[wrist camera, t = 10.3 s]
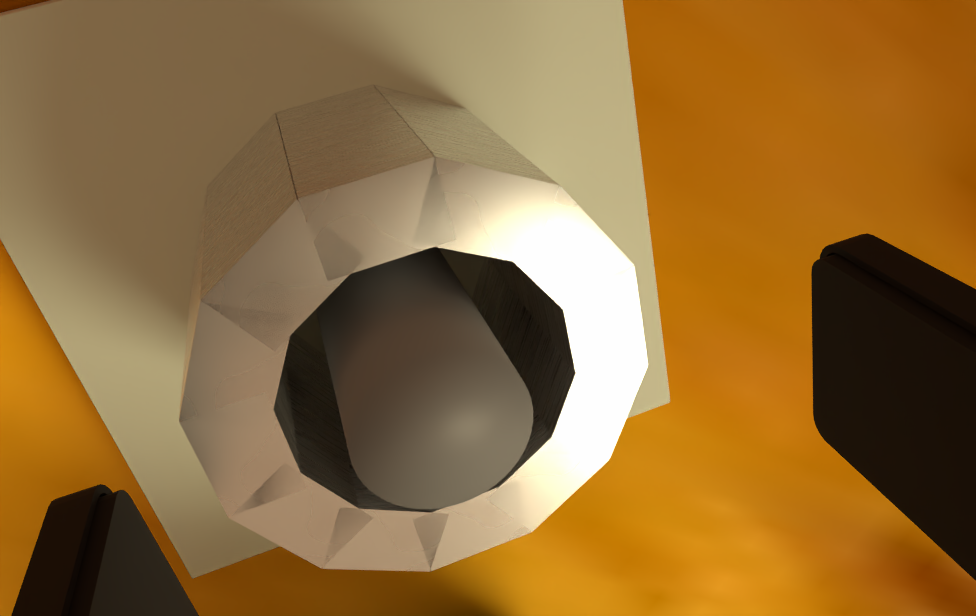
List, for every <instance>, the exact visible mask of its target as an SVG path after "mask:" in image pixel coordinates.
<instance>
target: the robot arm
mask: <svg viewBox="0 0 976 616" xmlns="http://www.w3.org/2000/svg"><path fill="white" fill-rule="evenodd" d="M812 347H813V415H814V421H815V424H816V427H817V429H818V431H819V433H820V434H821V436H822V437H823V439H824V440H825V441H826V442H827V443H828V444H829V445H830V446H831V447H833V448H834V449H835V450H836V451H837V452H838V453H839V454H840V455H841V456H842V457H843V458H844V459H845V460H847V461H848V462H849V463H850V464H851V465H852V466H853V467H854V468H855V469H856V470H857V471H858V472H859V473H861V474H862V475H863V476H864V477H865V478H866V479H867V480H868V481H869V482H870V483H871V484H872V485H873V486H875V487H876V488H877V489H878V490H879V491H880V492H881V493H882V494H883V495H884V496H885V497H886V498H887V499H889V500H890V501H891V502H892V503H893V504H894V505H895V506H896V507H897V508H898V509H899V510H900V511H901V512H903V513H904V514H905V515H906V516H907V517H908V518H909V519H910V520H911V521H912V522H913V523H914V524H915V525H917V526H918V527H919V528H920V529H921V530H922V531H923V532H924V533H925V534H926V535H927V536H928V537H929V538H931V539H932V540H933V541H934V542H935V543H936V544H937V545H938V546H939V547H940V548H941V549H942V550H943V551H945V552H946V553H947V554H948V555H949V556H950V557H951V558H952V559H953V560H954V561H955V562H956V563H957V564H959V565H960V566H961V567H962V568H963V569H964V570H965V571H966V572H967V573H968V574H969V575H970V576H971V577H973V578H974V579H975V580H976V289H974V288H972V287H971V286H969V285H967V284H965V283H963V282H961V281H959V280H957V279H955V278H953V277H951V276H950V275H948V274H946V273H944V272H942V271H940V270H938V269H936V268H934V267H932V266H931V265H929V264H927V263H925V262H923V261H921V260H919V259H917V258H915V257H913V256H912V255H910V254H908V253H906V252H904V251H902V250H900V249H898V248H896V247H894V246H893V245H891V244H889V243H887V242H885V241H883V240H881V239H879V238H877V237H875V236H873V235H870V234H861V235H858V236H855V237H852V238H849V239H846V240H843V241H840V242H837V243H834V244H831V245H828V246H826V247H825V248H824V249H823V250H822V252H821V255H820V259H819V260H817V261H815V262H814V264H813V266H812ZM12 616H199V615H198V613H197V612H196V610H195V608H194V606H193V605H192V603H191V601H190V599H189V598H188V596H187V594H186V593H185V591H184V589H183V587H182V586H181V584H180V582H179V580H178V579H177V577H176V575H175V573H174V572H173V570H172V568H171V566H170V565H169V563H168V561H167V560H166V558H165V556H164V554H163V553H162V551H161V549H160V547H159V546H158V544H157V542H156V540H155V539H154V537H153V535H152V533H151V532H150V530H149V528H148V527H147V525H146V523H145V521H144V520H143V518H142V516H141V514H140V513H139V511H138V509H137V507H136V506H135V504H134V502H133V500H132V499H131V497H130V496H129V494H128V493H127V492H125V491H124V490H120V491H117V492H114V493H112V491H111V490H110V489H109V488H108V487H107V486H105V485H101V484H100V485H97V486H94V487H91V488H88V489H85V490H82V491H79V492H76V493H73V494H70V495H67V496H64V497H60V498H57V499H55V500H53V501H52V502H51V504H50V505H49V507H48V510H47V513H46V516H45V519H44V522H43V524H42V527H41V530H40V533H39V536H38V539H37V542H36V545H35V548H34V551H33V554H32V557H31V560H30V563H29V566H28V569H27V571H26V574H25V577H24V580H23V583H22V586H21V589H20V592H19V595H18V598H17V601H16V604H15V607H14V610H13V613H12Z"/></svg>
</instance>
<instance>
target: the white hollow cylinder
mask: <svg viewBox="0 0 976 616" xmlns="http://www.w3.org/2000/svg"><path fill="white" fill-rule="evenodd" d="M432 247H438V248H444V249H449V250H454V251H460V252H465V253H470V254H476V255H481V256H485V258H484V261H483V264H482V267H481V271H480V274H479V277H478V280H477V284H476V287H475V290H474V293H473V296H472V301H473V303H474V304H475V306H476V308H477V309H478V311H479V312H480V314H481V315H482V317H483V319H484V320H485V322H486V323H487V325H488V326H489V328H490V330H491V331H492V333H493V334H494V336H495V337H496V339H497V341H498V342H499V344H500V345H501V347H502V348H503V350H504V352H505V353H506V355H507V356H508V358H509V359H510V361H511V363H512V364H513V366H514V367H515V369H516V370H517V372H518V374H519V375H520V377H521V378H522V380H523V381H524V383H525V385H526V387H527V389H528V391H529V394H530V397H531V400H532V406H533V425H532V431H531V435H530V438H529V441H528V444H527V446H526V448H525V450H524V452H523V454H522V456H521V457H520V459H519V461H518V462H517V463H516V465H515V466H514V467H513V468H512V470H511V471H510V472H509V473H508V474H507V475H506V476H505V477H504V478H503V479H502V480H501V481H499V482H498V483H497V484H496V485H495V486H493V487H492V488H490V489H489V490H487V491H486V492H484V493H482V494H481V495H479V496H477V497H475V498H473V499H470V500H468V501H466V502H463V503H460V504H457V505H454V506H449V507H444V508H437V509H413V508H406V507H402V506H398V505H395V504H392V503H390V502H387V501H385V500H383V499H382V498H380V497H378V496H377V495H375V494H374V493H373V492H371V491H370V490H369V489H368V488H367V487H366V486H365V485H364V484H363V483H362V482H361V480H360V479H359V477H358V476H357V475H356V472H355V470H354V468H353V466H352V463H351V460H350V456H349V452H348V448H347V444H346V439H345V435H344V430H343V426H342V422H341V417H340V413H339V409H338V404H337V400H336V396H335V391H334V387H333V383H332V378H331V374H330V370H329V365H328V361H327V357H326V355H324V354H323V353H321V352H320V351H319V350H317V349H316V348H315V347H313V346H312V345H310V344H309V343H308V342H306V341H305V340H304V339H302V338H301V337H299V336H298V335H297V334H295V333H294V331H295V330H296V329H297V328H298V327H299V326H300V325H301V324H302V323H303V322H304V321H305V320H306V319H307V318H308V317H309V316H310V315H311V314H312V313H313V312H314V311H315V310H316V309H317V308H318V306H319V305H320V304H321V303H322V302H323V301H324V300H325V299H326V298H327V297H328V296H329V295H330V294H331V293H332V292H333V291H334V290H335V289H336V288H337V287H338V286H339V285H340V284H341V283H342V282H343V281H344V280H345V279H346V278H347V277H348V276H349V275H350V274H352V273H355V272H358V271H361V270H364V269H367V268H370V267H373V266H376V265H379V264H382V263H385V262H389V261H392V260H395V259H398V258H401V257H404V256H407V255H410V254H413V253H416V252H419V251H422V250H425V249H429V248H432ZM647 367H648V361H647V353H646V346H645V339H644V332H643V324H642V317H641V310H640V303H639V295H638V288H637V281H636V274H635V266H634V264H633V263H632V262H631V261H630V260H629V259H628V258H627V257H626V256H625V255H624V254H623V253H622V251H621V250H620V249H619V248H618V247H617V246H616V245H615V244H614V243H613V242H612V241H611V240H610V239H609V237H608V236H607V235H606V234H605V233H604V232H603V231H602V230H601V229H600V228H599V227H598V226H597V225H596V224H595V222H594V221H593V220H592V219H591V218H590V217H589V216H588V215H587V214H586V213H585V212H584V211H583V210H582V208H581V207H580V206H579V205H578V204H577V203H576V202H575V201H574V200H573V199H572V198H571V197H570V196H569V194H568V193H567V192H566V191H565V190H564V189H563V188H562V187H561V186H560V185H559V184H558V183H556V182H555V181H554V180H553V179H551V178H550V177H549V176H548V175H547V174H545V173H544V172H543V171H542V170H540V169H539V168H538V167H537V166H536V165H534V164H533V163H532V162H531V161H529V160H528V159H527V158H526V157H525V156H523V155H522V154H521V153H520V152H518V151H517V150H516V149H515V148H514V147H512V146H511V145H510V144H509V143H507V142H506V141H505V140H504V139H502V138H501V137H500V136H499V135H498V134H496V133H495V132H494V131H493V130H491V129H490V128H489V127H488V126H487V125H485V124H484V123H483V122H482V121H480V120H479V119H478V118H477V117H476V116H474V115H473V114H472V113H471V112H469V111H468V110H467V109H466V108H463V107H459V106H455V105H451V104H447V103H444V102H440V101H436V100H432V99H428V98H424V97H421V96H417V95H413V94H409V93H405V92H401V91H398V90H394V89H390V88H386V87H382V86H378V85H374V84H373V85H372V84H371V85H368V86H365V87H361V88H358V89H354V90H351V91H347V92H344V93H340V94H337V95H333V96H330V97H327V98H323V99H320V100H316V101H313V102H309V103H306V104H302V105H299V106H295V107H292V108H288V109H285V110H282V111H278V112H276V113H274V114H273V115H272V116H271V117H270V118H269V120H268V121H267V122H266V123H265V124H264V125H263V126H262V127H261V128H260V129H259V130H258V131H257V132H256V134H255V135H254V136H253V137H252V138H251V139H250V140H249V141H248V142H247V143H246V144H245V145H244V147H243V148H242V149H241V150H240V151H239V152H238V153H237V154H236V155H235V156H234V157H233V158H232V159H231V161H230V162H229V163H228V164H227V165H226V166H225V167H224V168H223V169H222V170H221V171H220V172H219V173H218V175H217V176H216V177H215V178H214V179H213V180H212V181H211V182H210V183H209V184H208V186H207V191H206V196H205V202H204V208H203V214H202V219H201V225H200V231H199V237H198V242H197V248H196V254H195V260H194V265H193V271H192V278H191V289H190V301H189V312H188V323H187V334H186V346H185V357H184V368H183V380H182V391H181V402H180V414H179V423H180V425H181V427H182V428H183V430H184V432H185V434H186V436H187V438H188V440H189V442H190V444H191V446H192V448H193V450H194V452H195V454H196V456H197V458H198V460H199V462H200V464H201V466H202V467H203V469H204V471H205V473H206V475H207V477H208V479H209V481H210V483H211V485H212V487H213V489H214V491H215V493H216V495H217V497H218V499H219V501H220V503H221V505H222V506H223V508H224V510H225V512H226V514H227V516H228V517H229V518H230V519H231V520H233V521H235V522H237V523H239V524H241V525H242V526H244V527H246V528H248V529H250V530H252V531H253V532H255V533H257V534H259V535H261V536H263V537H264V538H266V539H268V540H270V541H272V542H274V543H275V544H277V545H279V546H281V547H283V548H285V549H286V550H288V551H290V552H292V553H294V554H296V555H297V556H299V557H301V558H303V559H305V560H307V561H308V562H310V563H312V564H314V565H316V566H318V567H319V568H322V569H348V570H388V571H427V572H430V570H431V571H433V570H436V569H438V568H441V567H443V566H446V565H449V564H451V563H454V562H456V561H459V560H461V559H464V558H467V557H469V556H472V555H474V554H477V553H479V552H482V551H485V550H487V549H490V548H492V547H495V546H497V545H500V544H503V543H505V542H508V541H510V540H513V539H515V538H518V537H521V536H523V535H526V534H528V533H531V531H532V532H533V531H534V530H535V529H536V528H537V527H538V526H539V525H540V524H541V523H542V522H543V521H544V520H545V519H546V518H547V517H549V516H550V515H551V514H552V513H553V512H554V511H555V510H556V509H557V508H558V507H559V506H560V505H561V504H562V503H563V502H565V501H566V500H567V499H568V498H569V497H570V496H571V495H572V494H573V493H574V492H575V491H576V490H577V489H578V488H579V487H581V486H582V485H583V484H584V483H585V482H586V481H587V480H588V479H589V478H590V477H591V476H592V475H593V474H594V473H595V472H597V471H598V470H599V469H600V468H601V467H602V466H603V465H604V464H605V463H606V462H607V461H608V460H609V459H610V457H611V454H612V452H613V449H614V447H615V445H616V442H617V440H618V437H619V435H620V432H621V430H622V427H623V425H624V423H625V420H626V418H627V415H628V413H629V410H630V408H631V406H632V403H633V401H634V398H635V396H636V393H637V391H638V388H639V386H640V384H641V381H642V379H643V376H644V374H645V371H646V369H647Z"/></svg>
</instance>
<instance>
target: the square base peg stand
mask: <svg viewBox="0 0 976 616" xmlns="http://www.w3.org/2000/svg"><path fill="white" fill-rule="evenodd" d="M371 84H372V85H373V84H374V85H378V86H382V87H386V88H390V89H394V90H398V91H401V92H405V93H409V94H413V95H417V96H421V97H424V98H428V99H432V100H436V101H440V102H444V103H447V104H451V105H455V106H459V107H463V108H466V109H467V110H468V111H469V112H471V113H472V114H473V115H474V116H476V117H477V118H478V119H479V120H480V121H482V122H483V123H484V124H485V125H487V126H488V127H489V128H490V129H491V130H493V131H494V132H495V133H496V134H498V135H499V136H500V137H501V138H502V139H504V140H505V141H506V142H507V143H509V144H510V145H511V146H512V147H514V148H515V149H516V150H517V151H518V152H520V153H521V154H522V155H523V156H525V157H526V158H527V159H528V160H529V161H531V162H532V163H533V164H534V165H536V166H537V167H538V168H539V169H540V170H542V171H543V172H544V173H545V174H547V175H548V176H549V177H550V178H551V179H553V180H554V181H555V182H556V183H558V184H559V185H560V186H561V187H562V188H563V189H564V190H565V191H566V192H567V193H568V194H569V196H570V197H571V198H572V199H573V200H574V201H575V202H576V203H577V204H578V205H579V206H580V207H581V208H582V210H583V211H584V212H585V213H586V214H587V215H588V216H589V217H590V218H591V219H592V220H593V221H594V222H595V224H596V225H597V226H598V227H599V228H600V229H601V230H602V231H603V232H604V233H605V234H606V235H607V236H608V237H609V239H610V240H611V241H612V242H613V243H614V244H615V245H616V246H617V247H618V248H619V249H620V250H621V251H622V253H623V254H624V255H625V256H626V257H627V258H628V259H629V260H630V261H631V262H632V263H633V264H634V266H635V274H636V281H637V288H638V295H639V303H640V310H641V317H642V324H643V332H644V339H645V346H646V353H647V361H648V367H647V369H646V371H645V374H644V376H643V379H642V381H641V384H640V386H639V388H638V391H637V393H636V396H635V398H634V401H633V403H632V406H631V408H630V410H629V413H628V415H627V418H629V417H632V416H634V415H637V414H640V413H642V412H645V411H648V410H651V409H653V408H656V407H659V406H661V405H664V404H667V403H670V395H669V387H668V378H667V370H666V362H665V353H664V345H663V336H662V328H661V320H660V311H659V303H658V295H657V286H656V278H655V269H654V261H653V253H652V244H651V236H650V228H649V219H648V211H647V202H646V194H645V186H644V177H643V169H642V161H641V152H640V144H639V135H638V127H637V119H636V110H635V102H634V93H633V85H632V77H631V68H630V60H629V52H628V43H627V35H626V26H625V18H624V10H623V1H622V0H50V1H46V2H42V3H38V4H34V5H30V6H26V7H22V8H18V9H14V10H10V11H6V12H2V13H0V239H1V241H2V243H3V245H4V246H5V248H6V250H7V252H8V253H9V255H10V257H11V259H12V261H13V262H14V264H15V266H16V268H17V269H18V271H19V273H20V275H21V276H22V278H23V280H24V282H25V284H26V285H27V287H28V289H29V291H30V292H31V294H32V296H33V298H34V299H35V301H36V303H37V305H38V307H39V308H40V310H41V312H42V314H43V315H44V317H45V319H46V321H47V322H48V324H49V326H50V328H51V330H52V331H53V333H54V335H55V337H56V338H57V340H58V342H59V344H60V345H61V347H62V349H63V351H64V353H65V354H66V356H67V358H68V360H69V361H70V363H71V365H72V367H73V368H74V370H75V372H76V374H77V376H78V377H79V379H80V381H81V383H82V384H83V386H84V388H85V390H86V391H87V393H88V395H89V397H90V399H91V400H92V402H93V404H94V406H95V407H96V409H97V411H98V413H99V414H100V416H101V418H102V420H103V422H104V423H105V425H106V427H107V429H108V430H109V432H110V434H111V436H112V437H113V439H114V441H115V443H116V445H117V446H118V448H119V450H120V452H121V453H122V455H123V457H124V459H125V460H126V462H127V464H128V466H129V468H130V469H131V471H132V473H133V475H134V476H135V478H136V480H137V482H138V483H139V485H140V487H141V489H142V491H143V492H144V494H145V496H146V498H147V499H148V501H149V503H150V505H151V506H152V508H153V510H154V512H155V514H156V515H157V517H158V519H159V521H160V522H161V524H162V526H163V528H164V529H165V531H166V533H167V535H168V537H169V538H170V540H171V542H172V544H173V545H174V547H175V549H176V551H177V552H178V554H179V556H180V558H181V560H182V561H183V563H184V565H185V567H186V568H187V570H188V572H189V574H190V575H191V577H192V579H193V578H196V577H198V576H201V575H204V574H206V573H209V572H212V571H215V570H217V569H220V568H223V567H225V566H228V565H231V564H233V563H236V562H239V561H242V560H244V559H247V558H250V557H252V556H255V555H258V554H261V553H263V552H266V551H269V550H271V549H274V548H277V547H280V546H279V545H277V544H275V543H274V542H272V541H270V540H268V539H266V538H264V537H263V536H261V535H259V534H257V533H255V532H253V531H252V530H250V529H248V528H246V527H244V526H242V525H241V524H239V523H237V522H235V521H233V520H231V519H230V518H229V517H228V516H227V514H226V512H225V510H224V508H223V506H222V505H221V503H220V501H219V499H218V497H217V495H216V493H215V491H214V489H213V487H212V485H211V483H210V481H209V479H208V477H207V475H206V473H205V471H204V469H203V467H202V466H201V464H200V462H199V460H198V458H197V456H196V454H195V452H194V450H193V448H192V446H191V444H190V442H189V440H188V438H187V436H186V434H185V432H184V430H183V428H182V427H181V425H180V423H179V414H180V402H181V391H182V380H183V368H184V357H185V346H186V334H187V323H188V312H189V301H190V289H191V278H192V271H193V265H194V260H195V254H196V248H197V242H198V237H199V231H200V225H201V219H202V214H203V208H204V202H205V196H206V191H207V186H208V184H209V183H210V182H211V181H212V180H213V179H214V178H215V177H216V176H217V175H218V173H219V172H220V171H221V170H222V169H223V168H224V167H225V166H226V165H227V164H228V163H229V162H230V161H231V159H232V158H233V157H234V156H235V155H236V154H237V153H238V152H239V151H240V150H241V149H242V148H243V147H244V145H245V144H246V143H247V142H248V141H249V140H250V139H251V138H252V137H253V136H254V135H255V134H256V132H257V131H258V130H259V129H260V128H261V127H262V126H263V125H264V124H265V123H266V122H267V121H268V120H269V118H270V117H271V116H272V115H273V114H274V113H276V112H278V111H282V110H285V109H288V108H292V107H295V106H299V105H302V104H306V103H309V102H313V101H316V100H320V99H323V98H327V97H330V96H333V95H337V94H340V93H344V92H347V91H351V90H354V89H358V88H361V87H365V86H368V85H371ZM484 258H485V256H481V255H476V254H470V253H465V252H460V251H454V250H449V249H444V248H438V247H432V248H429V249H425V250H422V251H419V252H416V253H413V254H410V255H407V256H404V257H401V258H398V259H395V260H392V261H389V262H385V263H382V264H379V265H376V266H373V267H370V268H367V269H364V270H361V271H358V272H355V273H352V274H350V275H349V276H348V277H347V278H346V279H345V280H344V281H343V282H342V283H341V284H340V285H339V286H338V287H337V288H336V289H335V290H334V291H333V292H332V293H331V294H330V295H329V296H328V297H327V298H326V299H325V300H324V301H323V302H322V303H321V304H320V305H319V306H318V308H317V309H316V310H315V311H314V312H313V313H312V314H311V315H310V316H309V317H308V318H307V319H306V320H305V321H304V322H303V323H302V324H301V325H300V326H299V327H298V328H297V329H296V330H295V331H294V333H295V334H297V335H298V336H299V337H301V338H302V339H304V340H305V341H306V342H308V343H309V344H310V345H312V346H313V347H315V348H316V349H317V350H319V351H320V352H321V353H323V354H324V355H326V357H327V361H328V365H329V370H330V374H331V378H332V383H333V387H334V391H335V396H336V400H337V404H338V409H339V413H340V417H341V422H342V426H343V430H344V435H345V439H346V444H347V448H348V452H349V456H350V460H351V463H352V466H353V468H354V470H355V472H356V475H357V476H358V477H359V479H360V480H361V482H362V483H363V484H364V485H365V486H366V487H367V488H368V489H369V490H370V491H371V492H373V493H374V494H375V495H377V496H378V497H380V498H382V499H383V500H385V501H387V502H390V503H392V504H395V505H398V506H402V507H406V508H413V509H437V508H444V507H449V506H454V505H457V504H460V503H463V502H466V501H468V500H470V499H473V498H475V497H477V496H479V495H481V494H482V493H484V492H486V491H487V490H489V489H490V488H492V487H493V486H495V485H496V484H497V483H498V482H499V481H501V480H502V479H503V478H504V477H505V476H506V475H507V474H508V473H509V472H510V471H511V470H512V468H513V467H514V466H515V465H516V463H517V462H518V461H519V459H520V457H521V456H522V454H523V452H524V450H525V448H526V446H527V444H528V441H529V438H530V435H531V431H532V425H533V406H532V400H531V397H530V394H529V391H528V389H527V387H526V385H525V383H524V381H523V380H522V378H521V377H520V375H519V374H518V372H517V370H516V369H515V367H514V366H513V364H512V363H511V361H510V359H509V358H508V356H507V355H506V353H505V352H504V350H503V348H502V347H501V345H500V344H499V342H498V341H497V339H496V337H495V336H494V334H493V333H492V331H491V330H490V328H489V326H488V325H487V323H486V322H485V320H484V319H483V317H482V315H481V314H480V312H479V311H478V309H477V308H476V306H475V304H474V303H473V301H472V296H473V293H474V290H475V287H476V284H477V280H478V277H479V274H480V271H481V267H482V264H483V261H484Z"/></svg>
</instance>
